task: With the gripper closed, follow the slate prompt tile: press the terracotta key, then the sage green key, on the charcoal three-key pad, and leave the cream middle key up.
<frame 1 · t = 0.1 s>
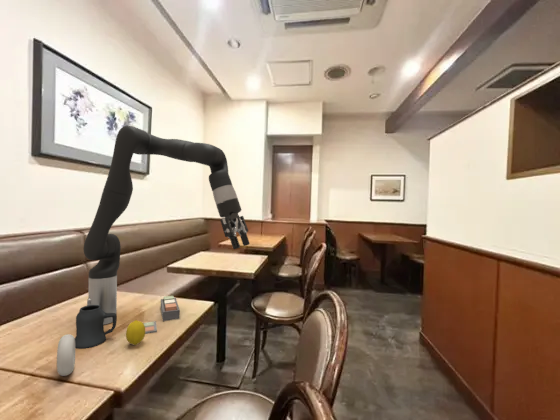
hand: (242, 246, 95), 31 cm above the table, tool tilted 20°, fingers open, 8 cm apart
lemon: (135, 345, 91), on the table
donut: (66, 374, 75), on the table
key cream: (169, 304, 119), point 4 cm above the table, slide at 0.0 cm
keypad: (169, 312, 119), on the table
prompt tile: (148, 328, 103), on the table
key sage: (168, 300, 124), point 4 cm above the table, slide at 0.0 cm
mug: (95, 342, 93), on the table
key terracotta: (170, 308, 114), point 4 cm above the table, slide at 0.0 cm
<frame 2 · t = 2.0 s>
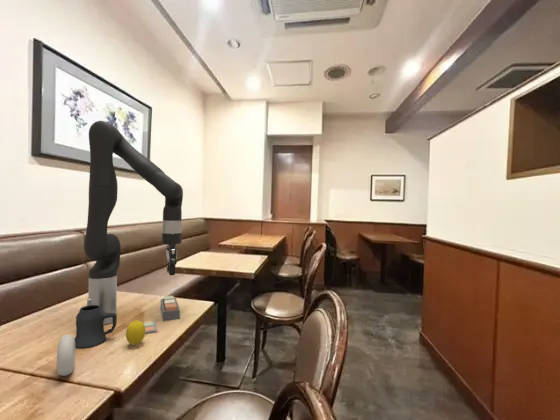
hand: (171, 272, 114), 18 cm above the table, tool pointing down, fingers open, 7 cm apart
nothing on the table moved.
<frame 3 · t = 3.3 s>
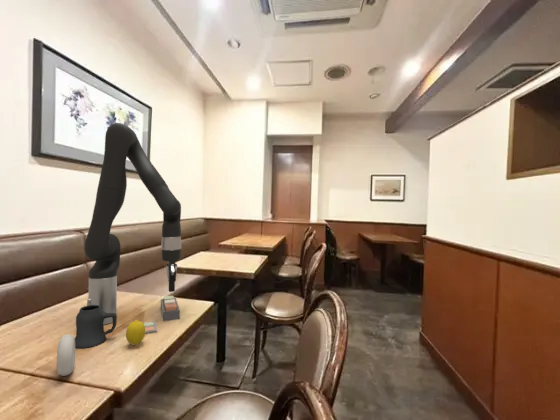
hand: (171, 291, 114), 11 cm above the table, tool pointing down, fingers closed
nothing on the table moved.
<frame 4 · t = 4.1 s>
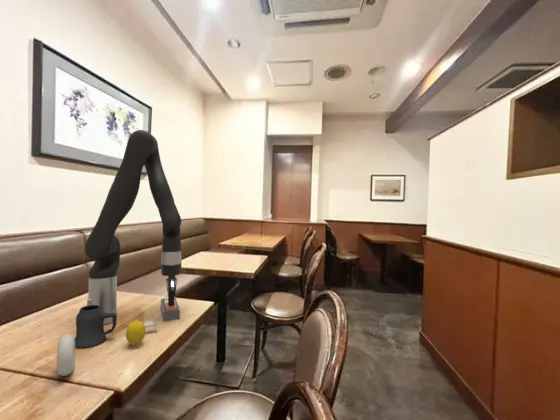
hand: (171, 305, 114), 5 cm above the table, tool pointing down, fingers closed
key terracotta: (170, 308, 114), point 4 cm above the table, slide at 0.0 cm, touching gripper
everything else where it was.
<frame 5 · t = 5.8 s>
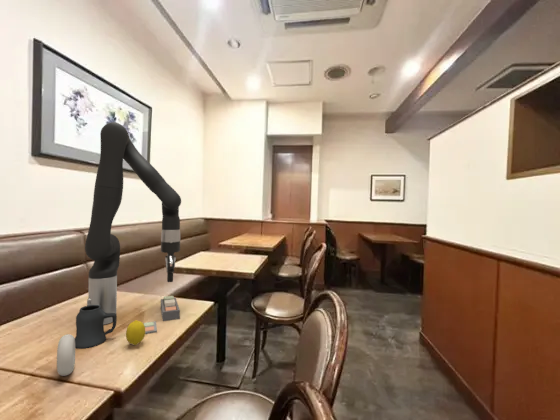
hand: (170, 281, 119), 13 cm above the table, tool pointing down, fingers closed
key terracotta: (170, 311, 114), point 2 cm above the table, slide at 1.2 cm
everything else where it was.
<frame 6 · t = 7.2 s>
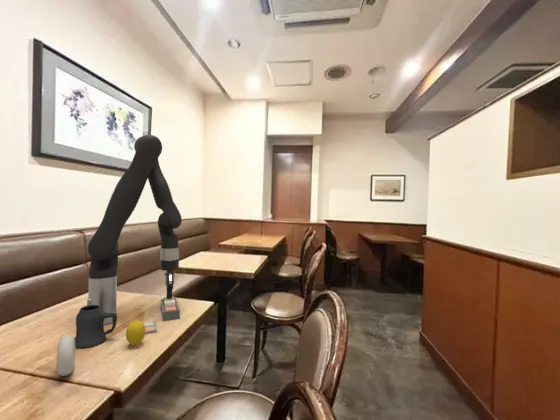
hand: (169, 297, 124), 5 cm above the table, tool pointing down, fingers closed
key sage: (168, 300, 124), point 3 cm above the table, slide at 0.2 cm, touching gripper
everything else where it was.
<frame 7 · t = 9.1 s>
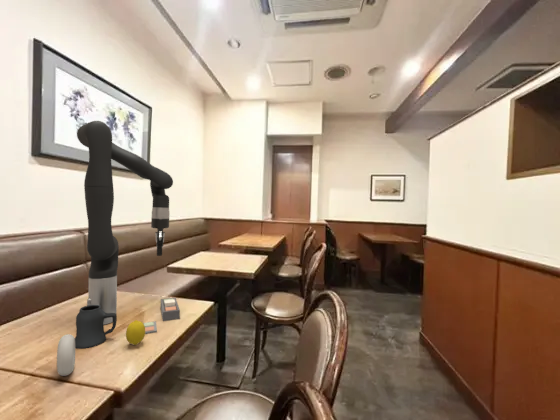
hand: (159, 255, 130), 22 cm above the table, tool pointing down, fingers closed
key sage: (168, 303, 124), point 2 cm above the table, slide at 1.2 cm
everything else where it was.
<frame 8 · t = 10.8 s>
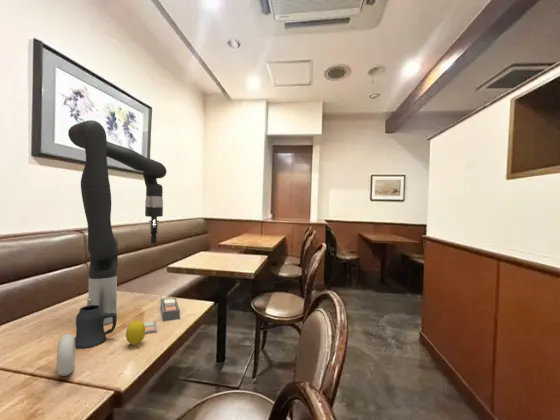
hand: (153, 243, 133), 27 cm above the table, tool pointing down, fingers closed
nothing on the table moved.
at the end: key terracotta slide at 1.2 cm; key sage slide at 1.2 cm; key cream slide at 0.0 cm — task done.
